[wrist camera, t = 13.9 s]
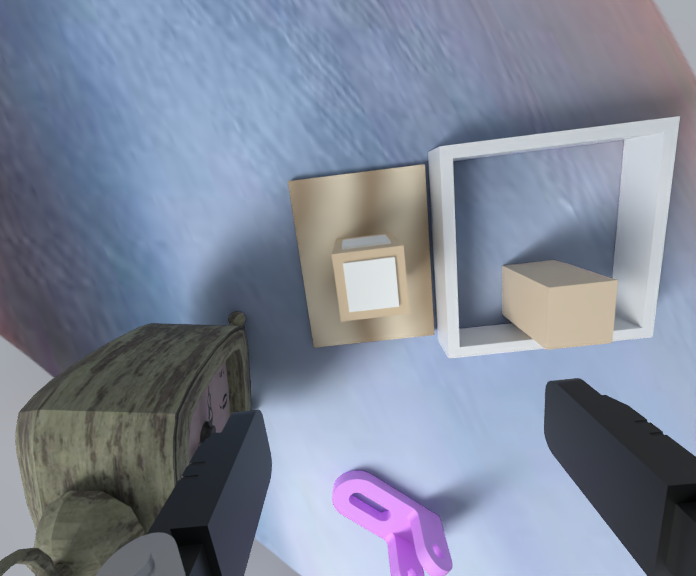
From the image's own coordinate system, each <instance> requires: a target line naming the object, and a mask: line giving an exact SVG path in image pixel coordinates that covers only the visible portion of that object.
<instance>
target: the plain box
mask: <svg viewBox="0 0 696 576" xmlns="http://www.w3.org/2000/svg"><path fill="white" fill-rule="evenodd" d="M617 286H618V280H616V279H613V278H610V277H607V276H604V275H601V274H598V273H595V272H592V271H588V270H585V269H582V268H579V267H576V266H573V265H570V264H567V263H564V262H561V261H558V260H548V261H539V262H530V263H522V264H513V265H504V266H502V315H503V316H505V317H506V318H507V319H508V320H510V321H511V322H512V323H513V324H515V325H516V326H517V327H518V328H520V329H521V330H522V331H523V332H525V333H526V334H527V335H528V336H530V337H531V338H532V339H533V340H535V341H536V342H537V343H539V344H540V345H541V346H542V347H544V348H545V349H546V350H548V349H558V348H568V347H577V346H587V345H597V344H606V343H612V340H613V330H614V319H615V308H616V297H617Z"/></svg>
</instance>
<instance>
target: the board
mask: <svg viewBox="0 0 696 576" xmlns="http://www.w3.org/2000/svg"><path fill="white" fill-rule="evenodd" d="M288 185H289V192H290V198H291V204H292V211H293V217H294V224H295V230H296V236H297V243H298V249H299V255H300V262H301V268H302V275H303V281H304V287H305V294H306V300H307V307H308V313H309V319H310V326H311V332H312V338H313V345H314V348H316V347H326V346H335V345H344V344H354V343H363V342H372V341H382V340H391V339H400V338H410V337H419V336H428V335H434V319H433V301H432V283H431V265H430V247H429V229H428V211H427V193H426V175H425V164H422V165H414V166H406V167H398V168H390V169H382V170H374V171H366V172H358V173H350V174H342V175H334V176H326V177H318V178H310V179H302V180H294V181H288ZM383 233H391V234H392V235H393V236H394V237H395V238H396V239H398V240H399V241H400V242H401V243H402V244H403V245H404V255H405V267H406V279H407V291H408V303H409V314H402V315H394V316H385V317H376V318H368V319H359V320H351V321H342V322H341V318H340V311H339V304H338V297H337V290H336V282H335V275H334V268H333V261H332V251H333V248H334V244H335V241H336V239H343V238H351V237H359V236H367V235H375V234H383Z"/></svg>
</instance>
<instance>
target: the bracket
mask: <svg viewBox="0 0 696 576" xmlns="http://www.w3.org/2000/svg"><path fill="white" fill-rule="evenodd" d="M353 493H361V494H363V495H364V496H366V497H368V498H369V499H371V500H373V501H374V502H376V503H378V504H379V505H381V506H383V507H384V508H386V509H388V510H386V511H384V512H380V511H377V510H376V509H374V508H372V507H371V506H369V505H367V504H366V503H364V502H362V501H361V500H359V499H357V498H356V497H354V496H352V494H353ZM332 501H333V505H334V507H335V509H336V510H337V511H338V512H339V513H340V514H342V515H343V516H345V517H347V518H348V519H350V520H352V521H353V522H355V523H357V524H359V525H360V526H362V527H364V528H365V529H367V530H369V531H371V532H372V533H374V534H376V535H377V536H379V537H381V538H382V539H384V540H385V541H386V543H387V545H388V554H389V563H390V572H391V576H424V571H423V568H424V570H425V571H426V572H427V573H428V574H429V575H430V576H445V575H446V574H447V573H448V572H449V571H450V570H451V569H452V560H451V556H450V552H449V549H448V545H447V542H446V538H445V534H444V531H443V527H442V524H441V520H440V517H439V516H438V515H436V514H435V513H433V512H431V511H430V510H428V509H427V508H425V507H423V506H422V505H420V504H418V503H417V502H415V501H414V500H412V499H410V498H409V497H407V496H406V495H404V494H402V493H401V492H399V491H397V490H396V489H394V488H393V487H391V486H389V485H388V484H386V483H385V482H383V481H381V480H380V479H378V478H377V477H375V476H373V475H372V474H370V473H368V472H365V471H359V470H355V471H349V472H346V473H344V474H342V475H341V476H340V477H338V478H337V480H336V481H335V483H334V486H333V496H332Z"/></svg>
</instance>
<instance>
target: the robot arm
mask: <svg viewBox="0 0 696 576" xmlns="http://www.w3.org/2000/svg"><path fill="white" fill-rule="evenodd" d="M544 434H545V438H546V442H547V444H548V447H549V449H550V451H551V452H552V454H553V455H554V457H555V458H556V459H557V460H558V462H559V463H560V464H561V466H562V467H563V468H564V469H565V471H566V472H567V473H568V474H569V476H570V477H571V478H572V480H573V481H574V482H575V483H576V485H577V486H578V487H579V489H580V490H581V491H582V492H583V494H584V495H585V496H586V498H587V499H588V500H589V501H590V503H591V504H592V505H593V507H594V508H595V509H596V510H597V512H598V513H599V514H600V516H601V517H602V518H603V519H604V521H605V522H606V523H607V525H608V526H609V527H610V528H611V530H612V531H613V532H614V534H615V535H616V536H617V537H618V539H619V540H620V541H621V543H622V544H623V545H624V546H625V548H626V549H627V550H628V552H629V553H630V554H631V555H632V557H633V558H634V559H635V561H636V562H637V563H638V564H639V566H640V567H641V568H642V570H643V571H644V572H645V573H646V575H647V576H696V457H695V456H694V455H693V454H691V453H690V452H689V451H687V450H686V449H685V448H683V447H682V446H681V445H679V444H678V443H677V442H675V441H674V440H673V439H672V438H670V437H669V436H668V435H664V434H663V432H662V431H661V430H660V429H658V428H657V427H656V426H654V425H653V424H652V423H648V422H647V419H645V418H644V417H643V416H641V415H640V414H639V413H637V412H636V411H635V410H633V409H632V408H631V407H630V406H628V405H626V404H624V403H622V402H619V401H617V400H615V399H613V398H611V397H609V396H607V395H601V394H599V393H598V392H597V391H596V390H594V389H593V388H592V387H591V386H589V385H588V384H587V383H586V382H584V381H583V380H582V379H579V378H575V379H565V380H555V381H549V382H548V383H547V385H546V390H545V416H544ZM271 471H272V459H271V452H270V448H269V443H268V438H267V433H266V429H265V424H264V419H263V415H262V413H261V411H260V410H252V411H243V412H233V413H232V414H231V415H230V417H229V419H228V421H227V423H226V425H225V426H224V428H223V430H222V432H220V433H213V434H212V435H211V436H210V437H209V438H208V439H207V440H205V441H204V442H203V443H202V444H201V445H200V446H199V447H198V448H197V450H196V452H195V453H194V455H193V457H192V458H191V460H190V462H189V466H187V467H186V469H185V470H184V472H183V474H182V475H181V480H178V482H177V484H176V485H175V487H174V489H173V491H172V492H171V494H170V496H169V497H168V499H167V501H166V502H165V504H164V506H163V507H162V509H161V511H160V512H159V514H158V516H157V517H156V519H155V521H154V523H153V524H152V526H151V528H150V529H149V531H148V533H147V534H146V535H144V536H141V537H139V538H137V539H135V540H133V541H131V542H129V543H128V544H126V545H125V546H123V547H122V548H121V549H119V550H118V551H117V552H116V553H114V554H113V555H112V556H111V557H110V558H109V559H108V560H107V561H106V562H105V563H104V565H103V566H102V567H101V569H100V570H99V571H98V573H97V574H96V576H244V573H245V570H246V566H247V563H248V559H249V555H250V551H251V548H252V544H253V541H254V537H255V533H256V530H257V526H258V523H259V519H260V515H261V512H262V508H263V504H264V501H265V497H266V493H267V490H268V486H269V483H270V479H271Z"/></svg>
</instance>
